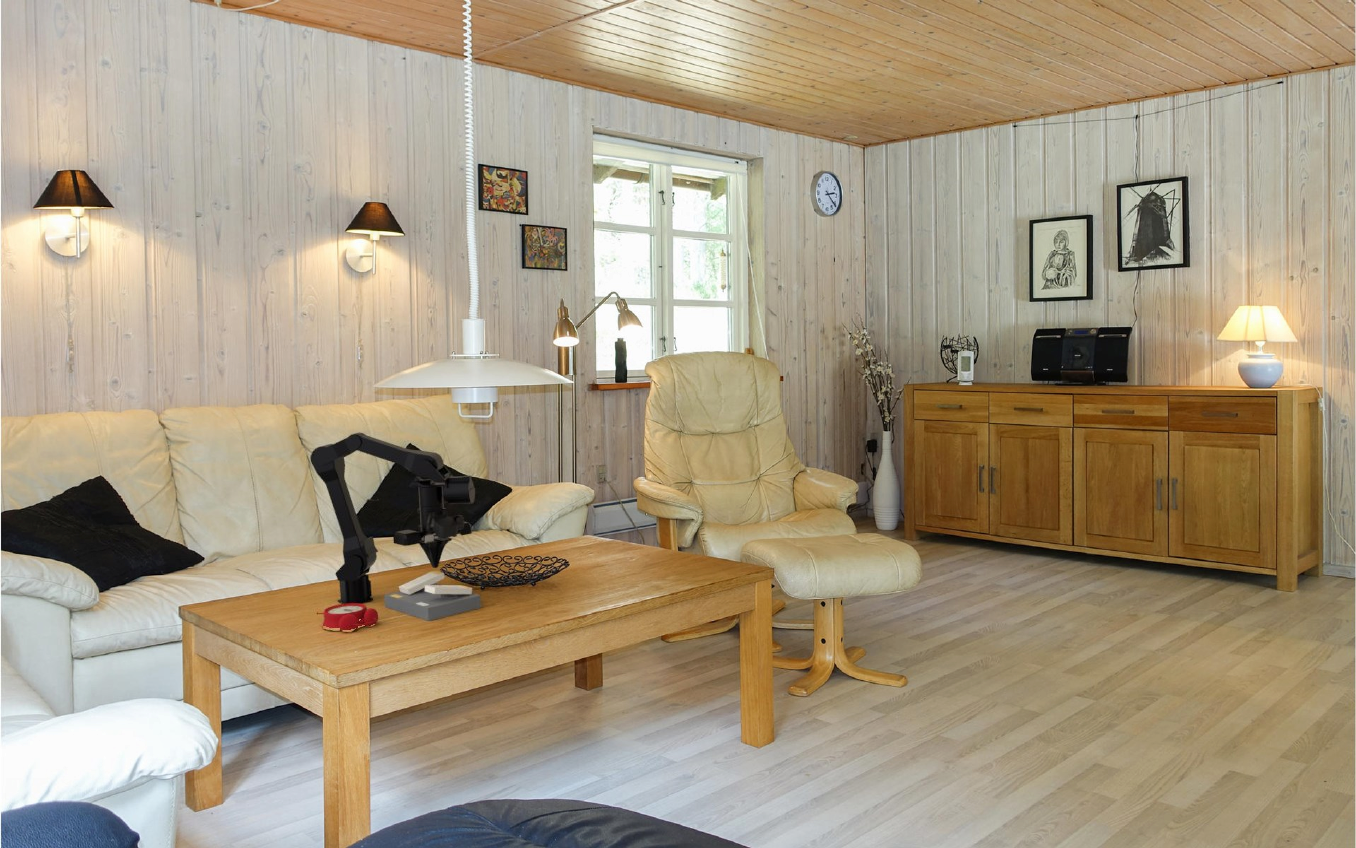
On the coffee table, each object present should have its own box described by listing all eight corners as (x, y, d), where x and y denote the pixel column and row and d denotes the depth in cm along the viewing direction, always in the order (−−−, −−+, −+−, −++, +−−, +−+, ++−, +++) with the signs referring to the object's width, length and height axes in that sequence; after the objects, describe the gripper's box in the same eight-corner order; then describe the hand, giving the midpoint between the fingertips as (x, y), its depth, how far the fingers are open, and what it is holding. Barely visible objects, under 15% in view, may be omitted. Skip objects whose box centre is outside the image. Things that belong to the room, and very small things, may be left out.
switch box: (428, 621, 230) (427, 605, 230) (385, 607, 245) (384, 592, 244) (481, 607, 240) (480, 592, 240) (436, 595, 254) (435, 580, 254)
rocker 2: (434, 594, 233) (435, 587, 233) (424, 591, 236) (425, 584, 236) (471, 594, 240) (472, 587, 240) (461, 591, 243) (462, 585, 243)
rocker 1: (409, 594, 242) (407, 589, 242) (400, 592, 245) (398, 586, 245) (444, 578, 249) (443, 572, 248) (435, 575, 252) (433, 570, 251)
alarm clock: (349, 601, 238) (385, 595, 228) (354, 627, 237) (391, 622, 228) (308, 611, 229) (345, 605, 220) (314, 639, 229) (350, 634, 220)
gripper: (414, 513, 236) (418, 579, 237) (482, 502, 249) (486, 565, 250) (390, 509, 244) (394, 573, 245) (457, 498, 257) (461, 559, 258)
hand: (435, 567), depth 249 cm, fingers closed
